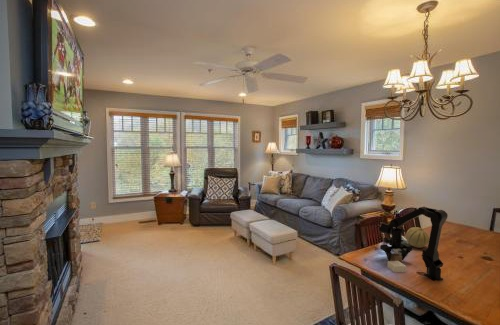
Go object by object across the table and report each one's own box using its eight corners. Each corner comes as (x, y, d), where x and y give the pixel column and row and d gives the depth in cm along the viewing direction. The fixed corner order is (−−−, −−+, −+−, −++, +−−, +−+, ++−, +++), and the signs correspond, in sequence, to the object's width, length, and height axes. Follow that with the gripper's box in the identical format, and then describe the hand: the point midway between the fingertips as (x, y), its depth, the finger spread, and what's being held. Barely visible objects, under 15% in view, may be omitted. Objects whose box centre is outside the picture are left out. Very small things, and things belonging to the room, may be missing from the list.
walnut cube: (401, 263, 163) (402, 256, 162) (394, 264, 162) (394, 256, 162) (396, 260, 168) (396, 252, 167) (389, 260, 167) (389, 253, 167)
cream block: (405, 272, 152) (405, 266, 152) (394, 272, 152) (394, 266, 151) (398, 266, 159) (398, 260, 159) (387, 267, 159) (387, 261, 158)
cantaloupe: (408, 241, 199) (408, 222, 198) (430, 246, 189) (431, 227, 188) (402, 246, 189) (403, 227, 188) (426, 252, 179) (427, 232, 177)
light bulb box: (407, 255, 174) (408, 240, 173) (396, 254, 175) (397, 239, 175) (401, 249, 185) (402, 234, 184) (391, 248, 186) (392, 234, 185)
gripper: (401, 232, 172) (400, 254, 174) (375, 233, 171) (374, 255, 172) (413, 238, 161) (412, 261, 163) (386, 239, 160) (385, 263, 161)
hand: (395, 260), depth 165 cm, fingers open, 9 cm apart
